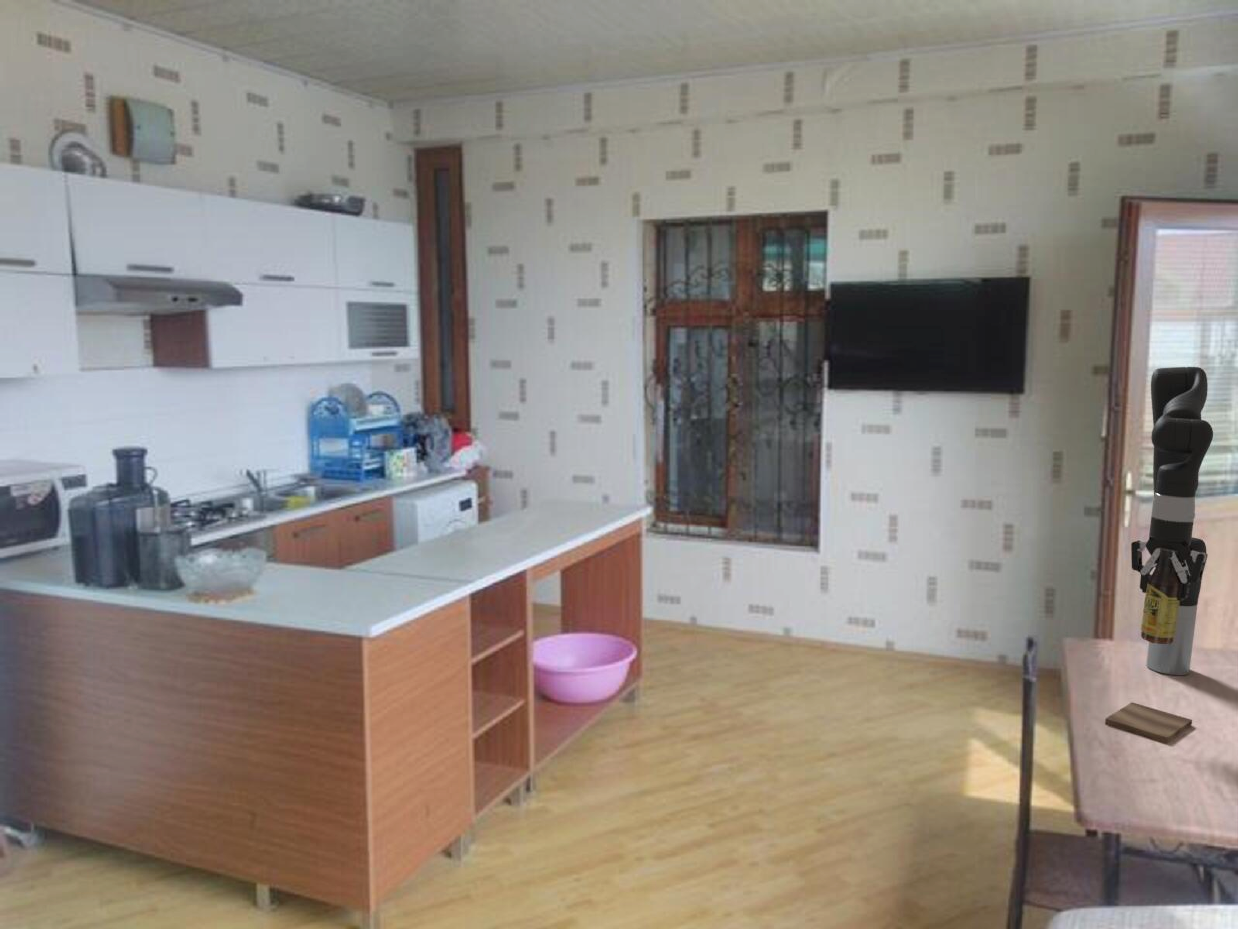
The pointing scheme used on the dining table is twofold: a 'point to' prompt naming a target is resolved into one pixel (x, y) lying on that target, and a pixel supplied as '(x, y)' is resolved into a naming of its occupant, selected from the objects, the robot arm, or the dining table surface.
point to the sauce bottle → (1161, 601)
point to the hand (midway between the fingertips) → (1163, 595)
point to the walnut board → (1148, 722)
